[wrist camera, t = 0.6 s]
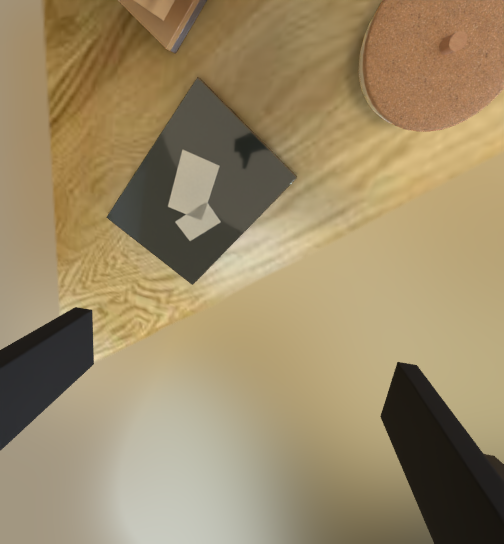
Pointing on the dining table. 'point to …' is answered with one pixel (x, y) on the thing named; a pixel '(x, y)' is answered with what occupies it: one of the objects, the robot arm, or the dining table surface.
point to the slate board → (199, 185)
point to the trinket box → (432, 61)
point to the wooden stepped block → (166, 18)
